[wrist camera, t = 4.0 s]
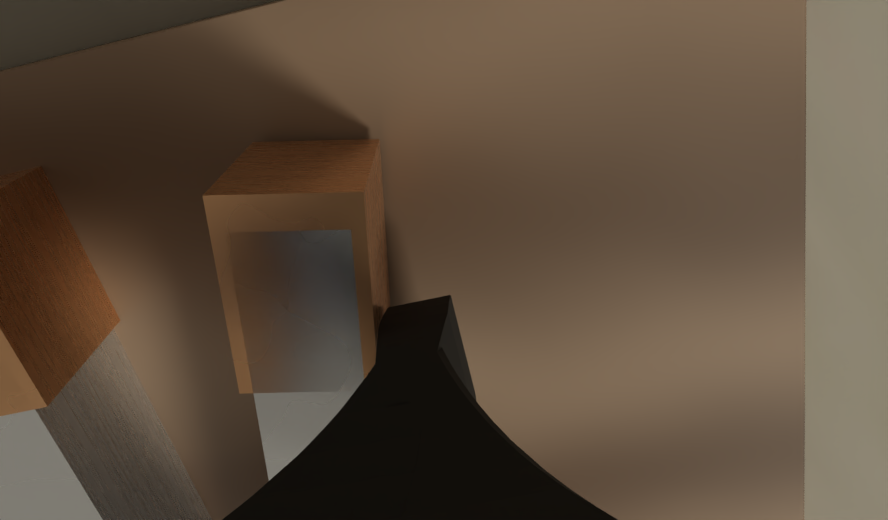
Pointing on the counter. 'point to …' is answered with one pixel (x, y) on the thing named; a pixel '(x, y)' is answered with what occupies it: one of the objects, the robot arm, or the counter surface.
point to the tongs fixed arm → (72, 382)
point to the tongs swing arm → (300, 280)
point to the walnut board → (480, 220)
